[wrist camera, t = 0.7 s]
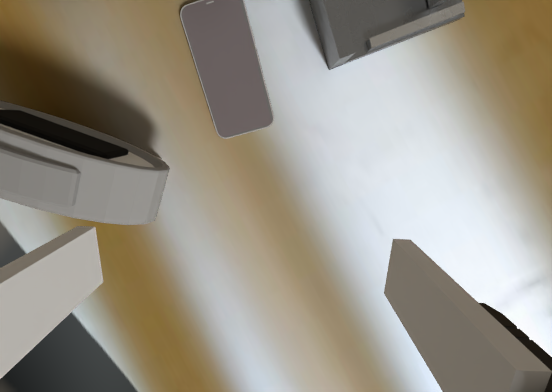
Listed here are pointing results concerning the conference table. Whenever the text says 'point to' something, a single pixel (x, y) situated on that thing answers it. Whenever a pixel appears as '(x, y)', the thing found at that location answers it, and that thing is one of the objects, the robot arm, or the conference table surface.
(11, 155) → the alarm clock
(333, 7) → the press bed
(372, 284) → the conference table surface
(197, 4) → the smartphone
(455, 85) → the conference table surface
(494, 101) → the conference table surface
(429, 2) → the ram
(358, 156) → the conference table surface
